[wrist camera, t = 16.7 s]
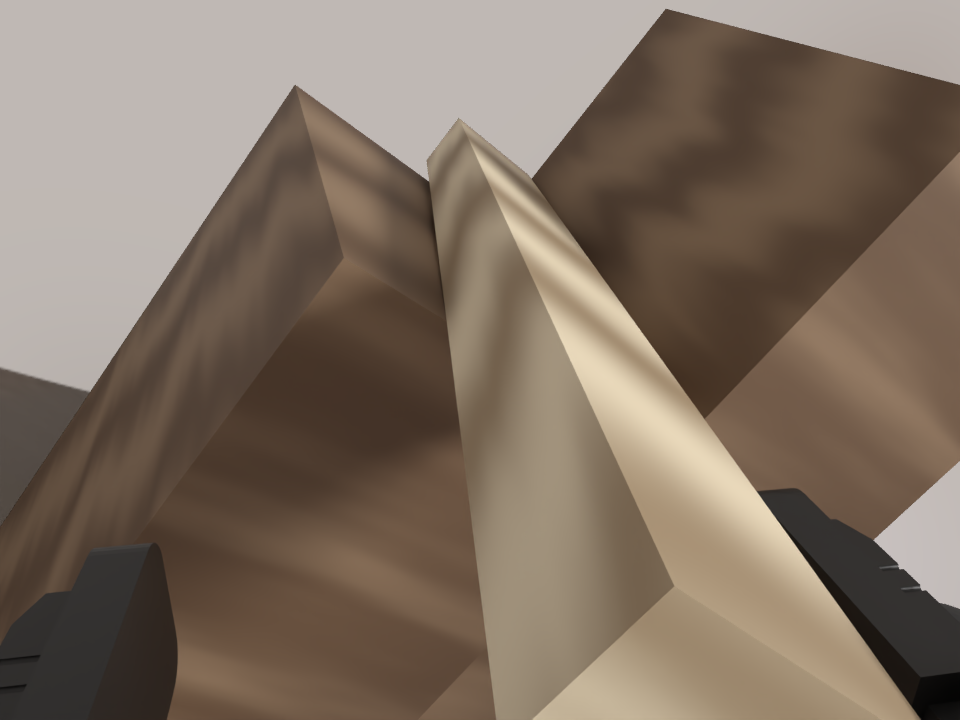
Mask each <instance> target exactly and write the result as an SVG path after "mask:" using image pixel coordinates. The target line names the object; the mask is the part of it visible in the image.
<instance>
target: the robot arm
mask: <svg viewBox="0 0 960 720" xmlns="http://www.w3.org/2000/svg"><path fill="white" fill-rule="evenodd" d="M756 492H757V493H758V494H759V496H760V497H761V498H762V500H763V501H764V503H765V504H766V505H767V507H768V508H769V510H770V511H771V512H772V514H773V515H774V516H775V518H776V519H777V521H778V522H779V523H780V525H781V526H782V528H783V529H784V530H785V532H786V533H787V535H788V536H789V537H790V539H791V540H792V541H793V543H794V544H795V546H796V547H797V548H798V550H799V551H800V553H801V554H802V555H803V557H804V558H805V560H806V561H807V562H808V564H809V565H810V566H811V568H812V569H813V571H814V572H815V573H816V575H817V576H818V578H819V579H820V580H821V582H822V583H823V585H824V586H825V587H826V589H827V590H828V591H829V593H830V594H831V596H832V597H833V598H834V600H835V601H836V603H837V604H838V605H839V607H840V608H841V610H842V611H843V612H844V614H845V615H846V616H847V618H848V619H849V621H850V622H851V623H852V625H853V626H854V628H855V629H856V630H857V632H858V633H859V634H860V636H861V637H862V639H863V640H864V641H865V643H866V644H867V646H868V647H869V648H870V650H871V651H872V653H873V654H874V655H875V657H876V658H877V659H878V661H879V662H880V664H881V665H882V666H883V668H884V669H885V671H886V672H887V673H888V675H889V676H890V678H891V679H892V680H893V682H894V683H895V684H896V686H897V687H898V689H899V690H900V691H901V693H902V694H903V696H904V697H905V698H906V700H907V701H908V703H909V704H910V705H911V707H912V708H913V709H914V711H915V712H916V714H917V715H918V716H919V718H920V719H921V720H960V609H958V608H955V607H952V606H949V605H946V604H942V603H939V602H938V601H936V600H935V599H934V598H933V597H932V596H931V595H930V594H929V593H928V592H927V591H922V590H921V588H920V584H918V582H917V581H915V580H914V579H913V578H912V577H911V576H910V575H909V574H908V573H907V572H906V571H905V570H904V569H901V570H900V569H899V567H898V564H897V562H895V561H894V560H893V559H892V558H891V557H890V556H889V555H888V554H887V553H886V552H885V551H884V550H883V549H882V548H881V547H879V545H878V544H877V543H875V542H874V541H873V540H872V539H871V538H869V537H867V536H865V535H864V534H862V533H860V532H858V531H857V530H855V529H853V528H851V527H850V526H848V525H846V524H844V523H843V522H841V521H839V520H837V519H830V518H829V517H828V516H827V515H826V514H825V513H824V512H823V511H822V510H821V509H820V508H819V507H818V506H817V505H816V504H815V503H814V502H813V501H812V500H811V499H809V498H808V497H807V496H806V495H805V494H804V493H803V492H802V491H801V490H799V489H797V488H786V489H774V490H763V491H756ZM177 666H178V645H177V635H176V629H175V624H174V618H173V612H172V607H171V601H170V596H169V590H168V585H167V579H166V574H165V568H164V563H163V558H162V553H161V550H160V548H159V546H158V544H157V543H145V544H133V545H122V546H110V547H99V548H93V549H92V550H91V551H90V552H89V554H88V556H87V558H86V560H85V562H84V564H83V567H82V569H81V571H80V573H79V575H78V577H77V579H76V581H75V583H74V586H73V588H72V590H71V591H64V592H54V593H46V594H45V595H44V596H42V597H41V598H40V599H39V600H38V601H37V602H36V603H35V604H34V605H33V606H31V607H30V608H29V609H28V610H27V611H26V612H25V613H24V614H23V615H22V616H21V617H19V618H18V619H17V620H16V621H15V622H14V623H13V624H12V625H11V627H10V628H9V630H8V632H7V634H6V636H5V638H4V639H3V641H2V643H1V645H0V720H167V717H168V713H169V709H170V705H171V701H172V697H173V692H174V688H175V683H176V677H177Z"/></svg>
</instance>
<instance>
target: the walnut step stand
mask: <svg viewBox="0 0 960 720" xmlns="http://www.w3.org/2000/svg"><path fill="white" fill-rule="evenodd" d="M532 181H533V182H534V183H535V185H536V186H537V187H538V189H539V190H540V192H541V193H542V194H543V196H544V197H545V199H546V200H547V201H548V203H549V204H550V206H551V207H552V208H553V210H554V211H555V212H556V214H557V215H558V217H559V218H560V219H561V221H562V222H563V224H564V225H565V226H566V228H567V229H568V231H569V232H570V233H571V235H572V236H573V237H574V239H575V240H576V242H577V243H578V244H579V246H580V247H581V249H582V250H583V251H584V253H585V254H586V256H587V257H588V258H589V260H590V261H591V262H592V264H593V265H594V267H595V268H596V269H597V271H598V272H599V274H600V275H601V276H602V278H603V279H604V280H605V282H606V283H607V285H608V286H609V287H610V289H611V290H612V292H613V293H614V294H615V296H616V297H617V299H618V300H619V301H620V303H621V304H622V305H623V307H624V308H625V310H626V311H627V312H628V314H629V315H630V317H631V318H632V319H633V321H634V322H635V324H636V325H637V326H638V328H639V329H640V330H641V332H642V333H643V335H644V336H645V337H646V339H647V340H648V342H649V343H650V344H651V346H652V347H653V349H654V350H655V351H656V353H657V354H658V355H659V357H660V358H661V360H662V361H663V362H664V364H665V365H666V367H667V368H668V369H669V371H670V372H671V374H672V375H673V376H674V378H675V379H676V380H677V382H678V383H679V385H680V386H681V387H682V389H683V390H684V392H685V393H686V394H687V396H688V397H689V398H690V400H691V401H692V403H693V404H694V405H695V407H696V408H697V410H698V411H699V412H700V414H701V415H702V417H703V418H704V419H705V421H706V422H707V423H708V425H709V426H710V428H711V429H712V430H713V432H714V433H715V435H716V436H717V437H718V439H719V440H720V442H721V443H722V444H723V446H724V447H725V448H726V450H727V451H728V453H729V454H730V455H731V457H732V458H733V460H734V461H735V462H736V464H737V465H738V467H739V468H740V469H741V471H742V472H743V473H744V475H745V476H746V478H747V479H748V480H749V482H750V483H751V485H752V486H753V487H754V489H755V490H756V491H763V490H774V489H786V488H797V489H799V490H801V491H802V492H803V493H804V494H805V495H806V496H807V497H808V498H809V499H811V500H812V501H813V502H814V503H815V504H816V505H817V506H818V507H819V508H820V509H821V510H822V511H823V512H824V513H825V514H826V515H827V516H828V517H829V518H830V519H837V520H839V521H841V522H843V523H844V524H846V525H848V526H850V527H851V528H853V529H855V530H857V531H858V532H860V533H862V534H864V535H865V536H867V537H869V538H871V539H872V540H874V539H875V538H876V537H877V536H878V535H879V534H880V533H881V532H882V531H883V530H885V529H886V528H887V527H888V526H889V525H890V524H891V523H892V522H893V521H894V520H896V519H897V518H898V517H899V516H900V515H901V514H902V513H903V512H904V511H905V510H906V509H908V508H909V507H910V506H911V505H912V504H913V503H914V502H915V501H916V500H917V499H918V498H920V497H921V496H922V495H923V494H924V493H925V492H926V491H927V490H928V489H929V488H930V487H932V486H933V485H934V484H935V483H936V482H937V481H938V480H939V479H940V478H941V477H942V476H944V475H945V474H946V473H947V472H948V471H949V470H950V469H951V468H952V467H953V466H955V465H956V464H957V463H958V462H959V461H960V85H958V84H953V83H950V82H946V81H942V80H938V79H934V78H931V77H926V76H923V75H919V74H915V73H911V72H907V71H904V70H900V69H895V68H892V67H888V66H884V65H880V64H876V63H873V62H869V61H865V60H861V59H857V58H853V57H849V56H845V55H842V54H838V53H834V52H830V51H826V50H822V49H819V48H815V47H811V46H807V45H803V44H799V43H796V42H792V41H788V40H784V39H780V38H776V37H772V36H769V35H765V34H761V33H757V32H753V31H749V30H745V29H742V28H738V27H734V26H730V25H726V24H722V23H718V22H714V21H710V20H707V19H703V18H699V17H695V16H691V15H688V14H684V13H680V12H676V11H672V10H668V9H665V11H664V12H663V13H662V14H661V16H660V17H659V18H658V19H657V21H656V22H655V24H654V25H653V26H652V27H651V28H650V30H649V31H648V32H647V33H646V35H645V36H644V37H643V39H642V40H641V41H640V42H639V44H638V45H637V46H636V47H635V49H634V50H633V51H632V52H631V54H630V55H629V56H628V57H627V59H626V60H625V61H624V63H623V64H622V65H621V66H620V68H619V69H618V70H617V72H616V73H615V74H614V75H613V76H612V78H611V79H610V80H609V82H608V83H607V84H606V85H605V87H604V88H603V89H602V90H601V92H600V93H599V94H598V95H597V97H596V98H595V99H594V101H593V102H592V103H591V104H590V106H589V107H588V108H587V110H586V111H585V112H584V113H583V114H582V116H581V117H580V119H579V120H578V121H577V122H576V124H575V125H574V126H573V127H572V128H571V130H570V131H569V132H568V133H567V135H566V136H565V137H564V139H563V140H562V141H561V142H560V144H559V145H558V146H557V148H556V149H555V150H554V151H553V152H552V154H551V155H550V156H549V158H548V159H547V160H546V161H545V163H544V164H543V165H542V166H541V168H540V169H539V170H538V172H537V173H536V174H535V175H534V177H533V178H532ZM145 543H157V544H158V546H159V548H160V550H161V553H162V558H163V563H164V568H165V574H166V579H167V585H168V590H169V596H170V601H171V607H172V612H173V618H174V624H175V629H176V635H177V645H178V666H177V677H176V683H175V688H174V692H173V697H172V701H171V705H170V709H169V713H168V717H167V720H496V714H495V706H494V697H493V689H492V681H491V673H490V665H489V657H488V649H487V641H486V633H485V625H484V617H483V609H482V601H481V593H480V585H479V577H478V569H477V561H476V553H475V545H474V537H473V529H472V521H471V513H470V505H469V497H468V489H467V481H466V473H465V465H464V456H463V448H462V440H461V432H460V424H459V416H458V408H457V400H456V392H455V384H454V376H453V368H452V360H451V352H450V344H449V336H448V328H447V320H446V312H445V304H444V296H443V288H442V280H441V272H440V264H439V256H438V248H437V240H436V232H435V223H434V215H433V207H432V199H431V191H430V183H429V181H427V180H426V179H424V178H423V177H422V176H420V175H419V174H417V173H416V172H415V171H413V170H412V169H411V168H409V167H408V166H407V165H405V164H404V163H402V162H401V161H399V160H398V159H397V158H396V157H394V156H393V155H391V154H390V153H389V152H387V151H386V150H384V149H383V148H382V147H380V146H379V145H378V144H376V143H375V142H373V141H372V140H370V139H369V138H368V137H366V136H365V135H364V134H362V133H361V132H359V131H358V130H357V129H355V128H354V127H353V126H351V125H350V124H348V123H347V122H346V121H344V120H343V119H342V118H340V117H339V116H337V115H336V114H334V113H333V112H332V111H330V110H329V109H328V108H326V107H325V106H323V105H322V104H321V103H319V102H318V101H316V100H315V99H314V98H313V97H311V96H310V95H308V94H307V93H306V92H304V91H303V90H302V89H300V88H299V87H297V86H296V85H295V86H294V87H293V89H292V90H291V92H290V93H289V95H288V96H287V98H286V99H285V101H284V102H283V104H282V105H281V107H280V108H279V110H278V111H277V113H276V114H275V116H274V117H273V119H272V120H271V122H270V123H269V125H268V126H267V128H266V129H265V131H264V132H263V134H262V135H261V137H260V138H259V140H258V141H257V143H256V144H255V146H254V147H253V149H252V150H251V152H250V153H249V155H248V156H247V158H246V159H245V161H244V162H243V164H242V165H241V167H240V168H239V170H238V171H237V173H236V174H235V176H234V177H233V179H232V180H231V182H230V183H229V185H228V186H227V188H226V189H225V191H224V192H223V194H222V195H221V197H220V198H219V200H218V201H217V203H216V204H215V206H214V207H213V209H212V210H211V212H210V213H209V215H208V216H207V218H206V219H205V221H204V222H203V224H202V225H201V227H200V228H199V230H198V231H197V233H196V234H195V236H194V237H193V239H192V240H191V242H190V243H189V245H188V246H187V248H186V249H185V251H184V252H183V254H182V255H181V257H180V258H179V260H178V261H177V263H176V264H175V266H174V267H173V269H172V270H171V272H170V273H169V275H168V276H167V278H166V279H165V281H164V282H163V284H162V285H161V287H160V288H159V290H158V291H157V293H156V294H155V296H154V297H153V299H152V300H151V302H150V303H149V305H148V306H147V308H146V309H145V311H144V312H143V314H142V315H141V317H140V318H139V320H138V321H137V323H136V324H135V326H134V327H133V329H132V330H131V332H130V333H129V335H128V336H127V338H126V339H125V341H124V342H123V344H122V345H121V347H120V348H119V350H118V351H117V353H116V354H115V356H114V357H113V359H112V360H111V362H110V363H109V365H108V366H107V368H106V369H105V371H104V372H103V374H102V375H101V377H100V378H99V380H98V381H97V383H96V384H95V386H94V387H93V389H92V390H91V392H90V393H89V395H88V396H87V398H86V399H85V401H84V402H83V404H82V405H81V407H80V408H79V410H78V411H77V413H76V414H75V416H74V417H73V419H72V420H71V422H70V423H69V425H68V426H67V428H66V429H65V431H64V432H63V434H62V435H61V437H60V438H59V440H58V441H57V443H56V444H55V446H54V447H53V449H52V450H51V452H50V453H49V455H48V456H47V458H46V459H45V461H44V462H43V464H42V465H41V467H40V468H39V470H38V471H37V473H36V474H35V476H34V477H33V479H32V480H31V482H30V483H29V485H28V486H27V488H26V489H25V491H24V492H23V494H22V495H21V497H20V498H19V500H18V501H17V503H16V504H15V506H14V507H13V509H12V510H11V512H10V513H9V515H8V516H7V518H6V519H5V521H4V522H3V524H2V525H1V527H0V645H1V643H2V641H3V639H4V638H5V636H6V634H7V632H8V630H9V628H10V627H11V625H12V624H13V623H14V622H15V621H16V620H17V619H18V618H19V617H21V616H22V615H23V614H24V613H25V612H26V611H27V610H28V609H29V608H30V607H31V606H33V605H34V604H35V603H36V602H37V601H38V600H39V599H40V598H41V597H42V596H44V595H45V594H46V593H54V592H64V591H71V590H72V588H73V586H74V583H75V581H76V579H77V577H78V575H79V573H80V571H81V569H82V567H83V564H84V562H85V560H86V558H87V556H88V554H89V552H90V551H91V550H92V549H93V548H99V547H110V546H122V545H133V544H145Z"/></svg>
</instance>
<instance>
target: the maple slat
mask: <svg viewBox="0 0 960 720" xmlns="http://www.w3.org/2000/svg"><path fill="white" fill-rule="evenodd" d="M427 167H428V175H429V183H430V191H431V199H432V207H433V215H434V223H435V232H436V240H437V248H438V256H439V264H440V272H441V280H442V288H443V296H444V304H445V312H446V320H447V328H448V336H449V344H450V352H451V360H452V368H453V376H454V384H455V392H456V400H457V408H458V416H459V424H460V432H461V440H462V448H463V456H464V465H465V473H466V481H467V489H468V497H469V505H470V513H471V521H472V529H473V537H474V545H475V553H476V561H477V569H478V577H479V585H480V593H481V601H482V609H483V617H484V625H485V633H486V641H487V649H488V657H489V665H490V673H491V681H492V689H493V697H494V706H495V714H496V720H921V719H920V718H919V716H918V715H917V714H916V712H915V711H914V709H913V708H912V707H911V705H910V704H909V703H908V701H907V700H906V698H905V697H904V696H903V694H902V693H901V691H900V690H899V689H898V687H897V686H896V684H895V683H894V682H893V680H892V679H891V678H890V676H889V675H888V673H887V672H886V671H885V669H884V668H883V666H882V665H881V664H880V662H879V661H878V659H877V658H876V657H875V655H874V654H873V653H872V651H871V650H870V648H869V647H868V646H867V644H866V643H865V641H864V640H863V639H862V637H861V636H860V634H859V633H858V632H857V630H856V629H855V628H854V626H853V625H852V623H851V622H850V621H849V619H848V618H847V616H846V615H845V614H844V612H843V611H842V610H841V608H840V607H839V605H838V604H837V603H836V601H835V600H834V598H833V597H832V596H831V594H830V593H829V591H828V590H827V589H826V587H825V586H824V585H823V583H822V582H821V580H820V579H819V578H818V576H817V575H816V573H815V572H814V571H813V569H812V568H811V566H810V565H809V564H808V562H807V561H806V560H805V558H804V557H803V555H802V554H801V553H800V551H799V550H798V548H797V547H796V546H795V544H794V543H793V541H792V540H791V539H790V537H789V536H788V535H787V533H786V532H785V530H784V529H783V528H782V526H781V525H780V523H779V522H778V521H777V519H776V518H775V516H774V515H773V514H772V512H771V511H770V510H769V508H768V507H767V505H766V504H765V503H764V501H763V500H762V498H761V497H760V496H759V494H758V493H757V492H756V490H755V489H754V487H753V486H752V485H751V483H750V482H749V480H748V479H747V478H746V476H745V475H744V473H743V472H742V471H741V469H740V468H739V467H738V465H737V464H736V462H735V461H734V460H733V458H732V457H731V455H730V454H729V453H728V451H727V450H726V448H725V447H724V446H723V444H722V443H721V442H720V440H719V439H718V437H717V436H716V435H715V433H714V432H713V430H712V429H711V428H710V426H709V425H708V423H707V422H706V421H705V419H704V418H703V417H702V415H701V414H700V412H699V411H698V410H697V408H696V407H695V405H694V404H693V403H692V401H691V400H690V398H689V397H688V396H687V394H686V393H685V392H684V390H683V389H682V387H681V386H680V385H679V383H678V382H677V380H676V379H675V378H674V376H673V375H672V374H671V372H670V371H669V369H668V368H667V367H666V365H665V364H664V362H663V361H662V360H661V358H660V357H659V355H658V354H657V353H656V351H655V350H654V349H653V347H652V346H651V344H650V343H649V342H648V340H647V339H646V337H645V336H644V335H643V333H642V332H641V330H640V329H639V328H638V326H637V325H636V324H635V322H634V321H633V319H632V318H631V317H630V315H629V314H628V312H627V311H626V310H625V308H624V307H623V305H622V304H621V303H620V301H619V300H618V299H617V297H616V296H615V294H614V293H613V292H612V290H611V289H610V287H609V286H608V285H607V283H606V282H605V280H604V279H603V278H602V276H601V275H600V274H599V272H598V271H597V269H596V268H595V267H594V265H593V264H592V262H591V261H590V260H589V258H588V257H587V256H586V254H585V253H584V251H583V250H582V249H581V247H580V246H579V244H578V243H577V242H576V240H575V239H574V237H573V236H572V235H571V233H570V232H569V231H568V229H567V228H566V226H565V225H564V224H563V222H562V221H561V219H560V218H559V217H558V215H557V214H556V212H555V211H554V210H553V208H552V207H551V206H550V204H549V203H548V201H547V200H546V199H545V197H544V196H543V194H542V193H541V192H540V190H539V189H538V187H537V186H536V185H535V183H534V182H533V181H532V179H531V178H530V177H529V175H528V174H527V173H525V172H524V171H523V170H522V169H520V168H519V167H518V166H517V165H516V164H514V163H513V162H512V161H511V160H509V159H508V158H507V157H506V156H505V155H503V154H502V153H501V152H500V151H498V150H497V149H496V148H495V147H494V146H492V145H491V144H490V143H488V142H487V141H486V140H485V139H484V138H483V137H481V136H480V135H479V134H478V133H476V132H475V131H474V130H473V129H471V128H470V127H469V126H468V125H467V124H465V123H464V122H463V121H462V120H461V119H459V118H458V120H457V121H456V122H455V124H454V125H453V126H452V128H451V129H450V130H449V131H448V133H447V134H446V135H445V137H444V138H443V139H442V141H441V142H440V143H439V145H438V146H437V147H436V149H435V150H434V151H433V153H432V154H431V156H430V157H429V158H428V159H427Z"/></svg>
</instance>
